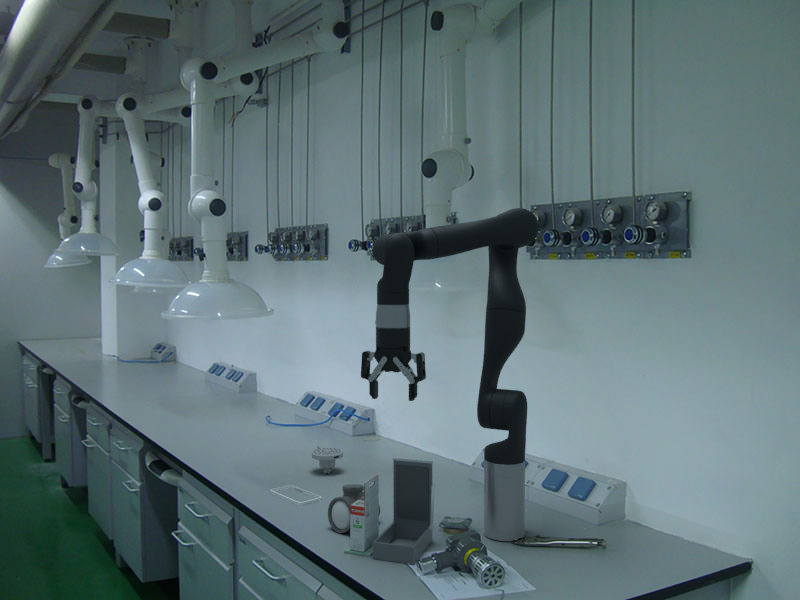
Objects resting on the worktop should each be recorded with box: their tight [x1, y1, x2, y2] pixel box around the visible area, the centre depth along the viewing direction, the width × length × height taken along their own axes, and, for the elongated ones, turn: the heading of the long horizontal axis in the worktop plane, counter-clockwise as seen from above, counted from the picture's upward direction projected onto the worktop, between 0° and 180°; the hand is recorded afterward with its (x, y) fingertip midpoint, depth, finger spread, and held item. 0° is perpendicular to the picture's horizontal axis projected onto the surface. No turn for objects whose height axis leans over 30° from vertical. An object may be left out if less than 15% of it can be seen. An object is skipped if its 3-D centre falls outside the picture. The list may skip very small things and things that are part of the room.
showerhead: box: [311, 445, 344, 474], centre depth 206 cm, size 9×7×10 cm
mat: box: [343, 544, 373, 557], centre depth 148 cm, size 9×6×1 cm, turn 161°
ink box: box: [349, 474, 380, 552], centre depth 148 cm, size 4×8×15 cm, turn 159°
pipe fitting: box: [327, 483, 381, 534], centre depth 161 cm, size 12×8×10 cm
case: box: [372, 456, 436, 565], centre depth 146 cm, size 14×10×18 cm
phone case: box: [269, 484, 323, 507], centre depth 183 cm, size 7×1×15 cm
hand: (393, 399), depth 148 cm, fingers open, 8 cm apart
